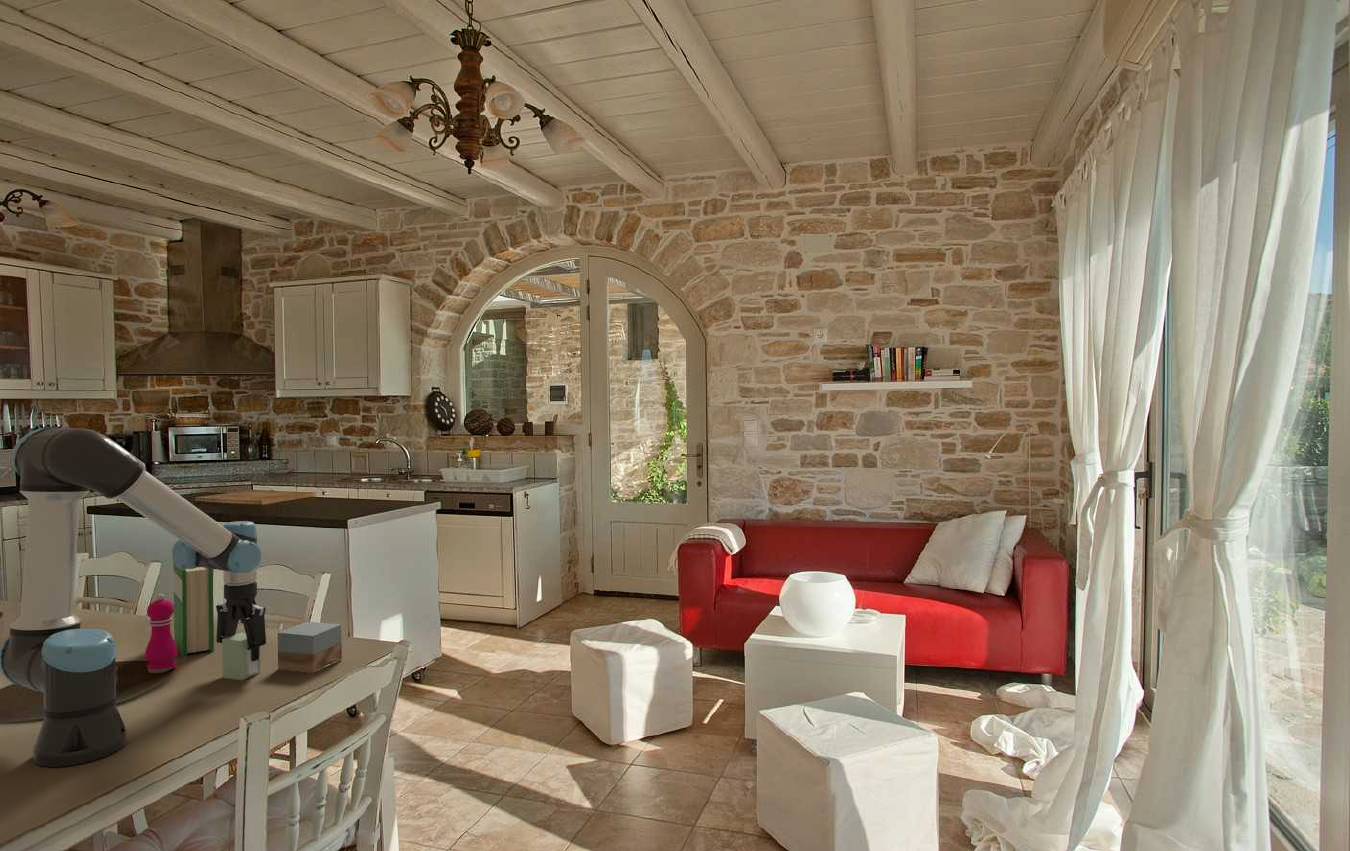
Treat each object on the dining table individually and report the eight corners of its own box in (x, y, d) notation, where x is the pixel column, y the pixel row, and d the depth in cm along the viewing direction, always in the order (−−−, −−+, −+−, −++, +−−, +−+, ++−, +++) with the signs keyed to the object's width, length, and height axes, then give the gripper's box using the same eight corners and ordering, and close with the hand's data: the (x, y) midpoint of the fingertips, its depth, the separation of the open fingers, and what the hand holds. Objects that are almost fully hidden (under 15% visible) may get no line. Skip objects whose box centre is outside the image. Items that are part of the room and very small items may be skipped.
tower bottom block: (312, 674, 206) (312, 655, 206) (277, 670, 209) (277, 651, 209) (341, 661, 217) (341, 643, 217) (308, 657, 220) (308, 639, 220)
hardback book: (213, 651, 224) (212, 566, 223) (183, 657, 219) (182, 570, 218) (203, 637, 237) (202, 557, 237) (174, 641, 233) (173, 560, 232)
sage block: (241, 680, 201) (241, 641, 201) (222, 677, 203) (222, 638, 202) (260, 672, 207) (259, 634, 207) (241, 670, 208) (241, 632, 208)
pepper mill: (161, 675, 204) (160, 598, 204) (137, 673, 206) (136, 596, 205) (184, 666, 211) (183, 591, 211) (161, 664, 213) (160, 590, 212)
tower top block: (313, 655, 206) (313, 635, 206) (277, 651, 209) (277, 632, 209) (341, 642, 217) (341, 624, 217) (307, 639, 220) (306, 621, 220)
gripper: (282, 581, 205) (283, 670, 206) (222, 576, 210) (224, 663, 211) (259, 588, 198) (260, 680, 198) (198, 582, 203) (199, 672, 204)
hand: (241, 671), depth 205 cm, fingers open, 6 cm apart
